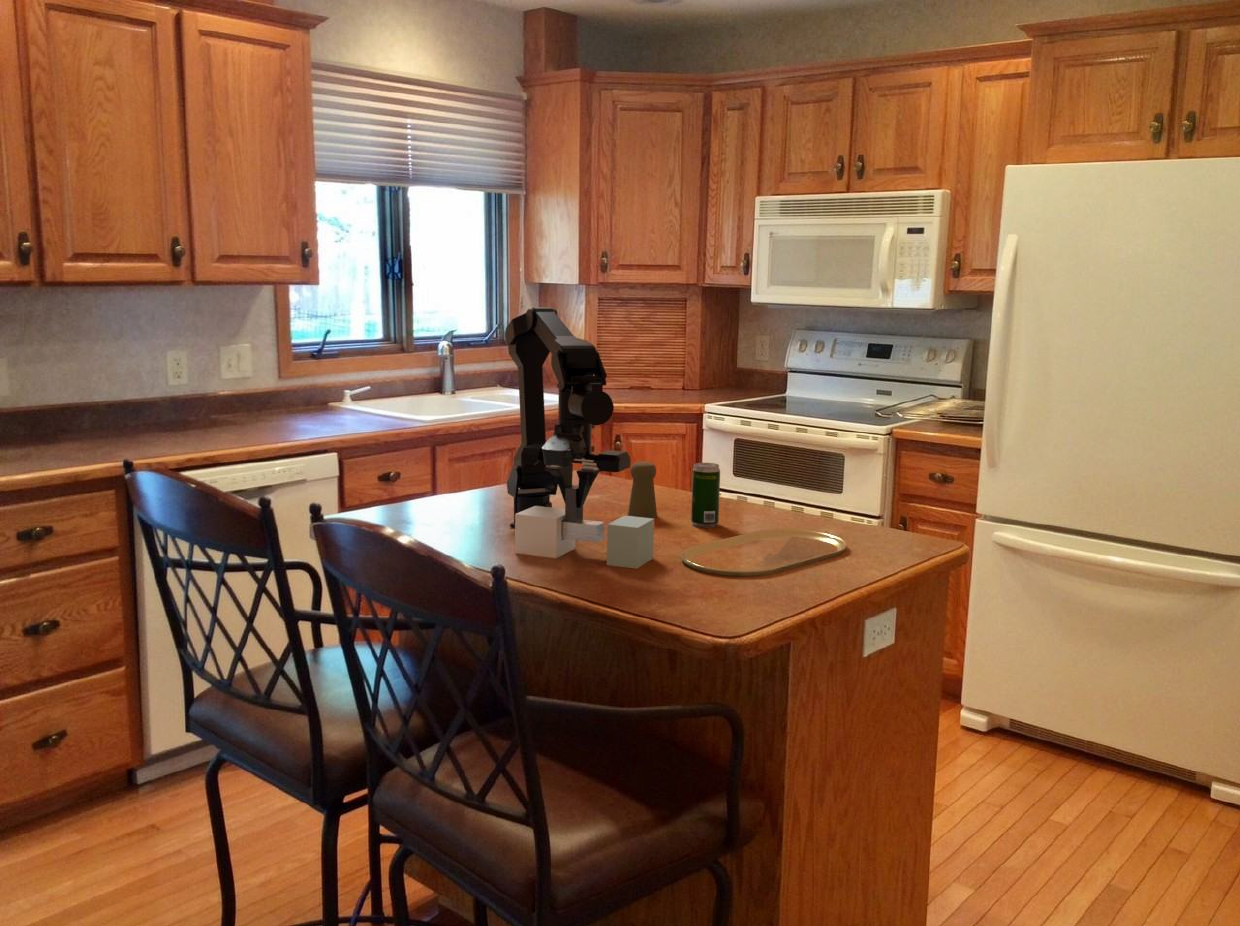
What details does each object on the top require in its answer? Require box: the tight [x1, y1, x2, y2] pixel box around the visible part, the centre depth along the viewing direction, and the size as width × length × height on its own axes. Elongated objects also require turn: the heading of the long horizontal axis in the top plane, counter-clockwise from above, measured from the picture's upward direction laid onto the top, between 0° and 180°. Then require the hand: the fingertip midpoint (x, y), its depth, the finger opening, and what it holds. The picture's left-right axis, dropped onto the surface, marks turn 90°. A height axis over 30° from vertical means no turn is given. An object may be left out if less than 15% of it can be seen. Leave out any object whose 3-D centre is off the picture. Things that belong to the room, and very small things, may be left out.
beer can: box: [690, 462, 721, 529], centre depth 212 cm, size 5×5×12 cm
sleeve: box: [514, 506, 576, 559], centre depth 191 cm, size 8×8×7 cm
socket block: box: [606, 515, 655, 569], centre depth 184 cm, size 6×8×7 cm
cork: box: [627, 461, 658, 519], centre depth 219 cm, size 6×6×11 cm
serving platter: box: [680, 528, 848, 577], centre depth 191 cm, size 19×35×2 cm, turn 133°
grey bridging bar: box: [561, 484, 605, 544], centre depth 189 cm, size 15×3×9 cm, turn 67°
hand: (574, 506), depth 188 cm, fingers closed on grey bridging bar, 2 cm apart
